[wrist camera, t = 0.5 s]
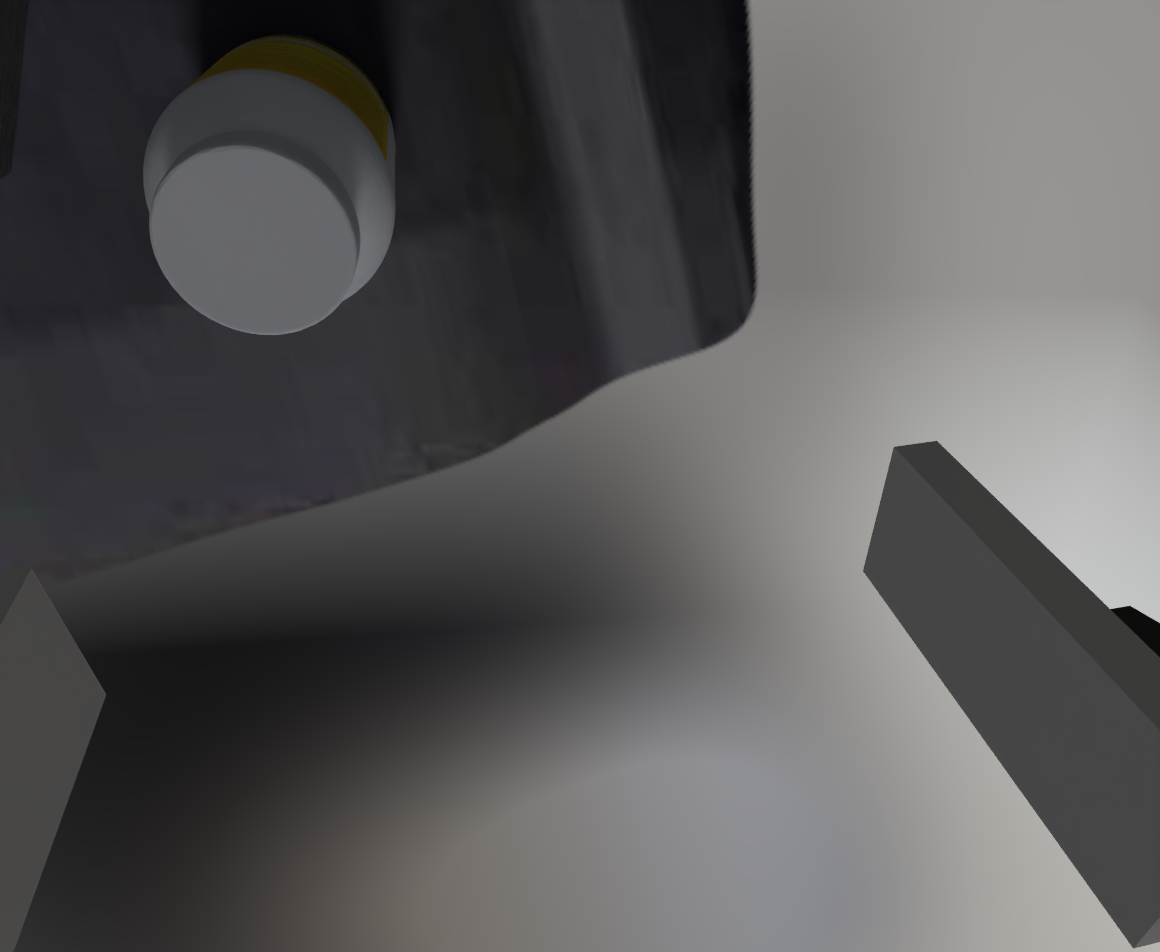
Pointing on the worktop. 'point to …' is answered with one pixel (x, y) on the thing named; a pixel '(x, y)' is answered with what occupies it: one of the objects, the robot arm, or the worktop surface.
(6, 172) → the motor base
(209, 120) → the pill bottle
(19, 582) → the robot arm
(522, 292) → the worktop surface
